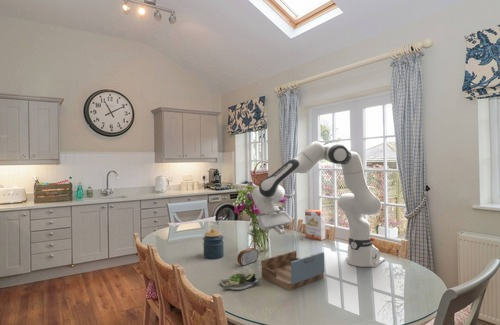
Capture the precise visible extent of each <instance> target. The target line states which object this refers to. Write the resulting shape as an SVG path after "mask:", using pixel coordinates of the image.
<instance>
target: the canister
mask: <svg viewBox="0 0 500 325" xmlns="http://www.w3.org/2000/svg"><path fill="white" fill-rule="evenodd" d="M203 236H204V237H203V238H202V241H203V243H202V245H203V253H202V254H203V258H204V259H206V260H207V259H208V260H218V259H221V258H223V257H224V256H225V250H224V243H225V242H224V236H223V232H221V231H220V230H216V229H215V228H211V229H210V230H209V231H206V232H205V233H204V234H203Z"/></svg>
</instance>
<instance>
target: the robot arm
mask: <svg viewBox="0 0 500 325" xmlns="http://www.w3.org/2000/svg"><path fill="white" fill-rule="evenodd" d="M301 150H302V151H300V152H299V153H298V154H297V155H296V156H295V157H294V158H292V159H290V160H288V161H287V162H285V163H284V164H283V165H282V166H281V167H279V168H278V169H277V170H276V171H274V172H273V173H272V174H271V175H269V176H267V177H265V178H263V179H262V180H261V181H260V182H259V184H258V186H257V187H256V188H255V189H253V191H252V193H251V197H252V200H253V202H254V204H255V206H256V207H257V208H258V210H259V214H256V216H255V218H256V220H257V223H258V225H259V227H260V229H261V231H269V230H274V231H276V232H277V233H278V235H279V236H281V235H284V234H285V232H286V230H284V229H285V227H289V226H290V225H291V224H292V222H293V219H292V218H291V216H290V215H289V214H288V212H287V211H286V208H284V207H283V206H278V205H275V204H277V203H278V202H280V201H281V200H283V199H284V197H285V194H286V190H285V188H284V187H283V186H282V185H281V183H282V182H283V181H285V180H286V179H287V178H288V177H290V176H291V175H293V174H308V173H309V172H310V171H312V170H313V169H314V168H315V167H316V166H317V165H318V163H320V162H321V161H323V160H325V161H327V162H329V163H331V164H332V163H333V164H335V165H340V166H341V168H342V169H341V170H342V171H341V172H342V177H343V181H344V185H345V187H346V188H347V189H348V190H349V191H350V192H351V193H343V194H341V195H340V196H339V198H338V202H337V204H338V207H339V209H340V210H341V211H342V212H343V213H344V215H345V217H346V220H347V223H348V229H349V230H348V233H349V236H348V246H347V254H346V255H347V256H345V259H346V261H347V264H349V265H352V266H355V267H362V268H364V267H367V268H368V267H371V268H377V267H378V266H379V265H380V264H382V263H384V262H385V258H384V257H382V256H381V255H380V250H379V249H378V248H377V247H376V246H375V245H374V244H373V242H375V240H376V239H375V237H371V226H370V223H369V222H368V221H367V220H366V219H365V218H364V215H366V216H375V215H378V214H379V213H380V212H381V210H382V201H381V200H380V198H379V197H378V196H376V195H375V194H374V193H373V192H372V191H371V190H370V188H369V186H368V184H367V181H366V177H365V176H366V175H365V171H364V166H363V162H362V158H361V157H360V154H359V153H358V152H356V151H350V150H349V149H348V148H347V146H345V145H344V144H341V143H338V142H326V143H324V144H323V143H322V142H320V141H317V140H316V141H315V140H314V141H312V142H311V143H310V144H308V145H307V146H306V147H304V148H303V149H301Z"/></svg>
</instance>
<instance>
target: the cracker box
mask: <svg viewBox="0 0 500 325" xmlns="http://www.w3.org/2000/svg"><path fill="white" fill-rule="evenodd" d="M304 214H305V215H304V218H305V219H304V220H305V238H307V239H313V240H318V241H323V240H325V239H326V213H325V210H317V209H309V208H308V209H306V210H305V211H304Z"/></svg>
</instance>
